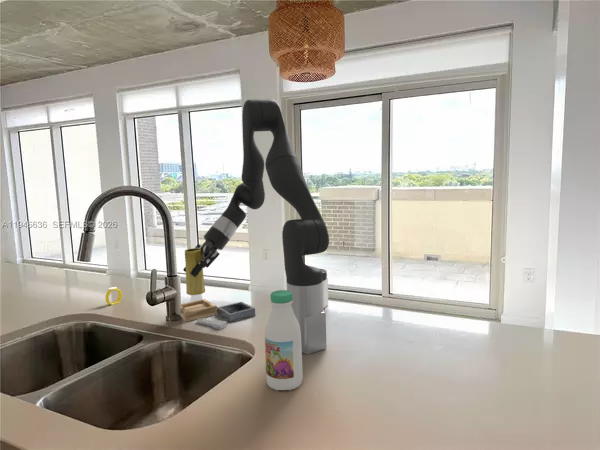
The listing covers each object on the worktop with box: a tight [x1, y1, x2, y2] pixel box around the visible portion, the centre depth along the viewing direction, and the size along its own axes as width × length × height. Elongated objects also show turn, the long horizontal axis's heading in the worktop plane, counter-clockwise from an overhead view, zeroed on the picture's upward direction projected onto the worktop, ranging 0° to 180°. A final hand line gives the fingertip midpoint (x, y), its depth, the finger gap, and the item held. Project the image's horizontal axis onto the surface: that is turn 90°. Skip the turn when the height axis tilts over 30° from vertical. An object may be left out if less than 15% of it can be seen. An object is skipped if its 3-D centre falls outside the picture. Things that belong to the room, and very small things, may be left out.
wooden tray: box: [180, 298, 218, 322], centre depth 134 cm, size 11×11×2 cm
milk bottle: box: [264, 289, 303, 391], centre depth 87 cm, size 8×8×20 cm
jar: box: [319, 268, 329, 310], centre depth 138 cm, size 9×8×12 cm
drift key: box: [195, 317, 228, 330], centre depth 123 cm, size 10×3×1 cm, turn 56°
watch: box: [104, 286, 123, 306], centre depth 147 cm, size 6×3×6 cm, turn 155°
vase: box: [184, 247, 206, 296], centre depth 133 cm, size 6×6×14 cm
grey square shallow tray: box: [216, 301, 256, 323], centre depth 131 cm, size 9×9×2 cm
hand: (189, 273), depth 132 cm, fingers closed on vase, 5 cm apart
